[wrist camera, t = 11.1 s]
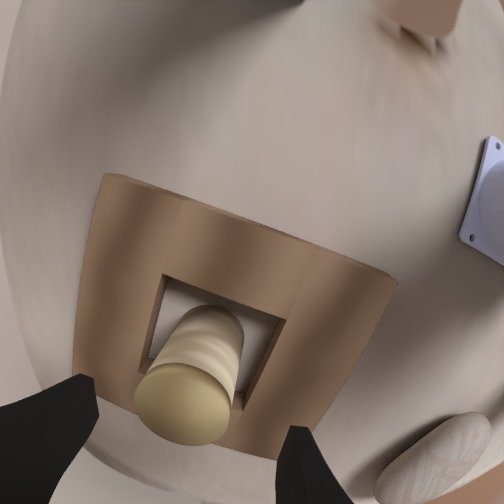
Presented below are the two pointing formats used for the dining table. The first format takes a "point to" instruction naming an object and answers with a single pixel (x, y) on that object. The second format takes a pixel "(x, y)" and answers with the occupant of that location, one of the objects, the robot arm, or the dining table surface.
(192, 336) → the beige wooden cylinder
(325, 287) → the carrier board
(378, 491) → the decorative stone
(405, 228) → the dining table surface
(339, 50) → the dining table surface
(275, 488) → the robot arm
